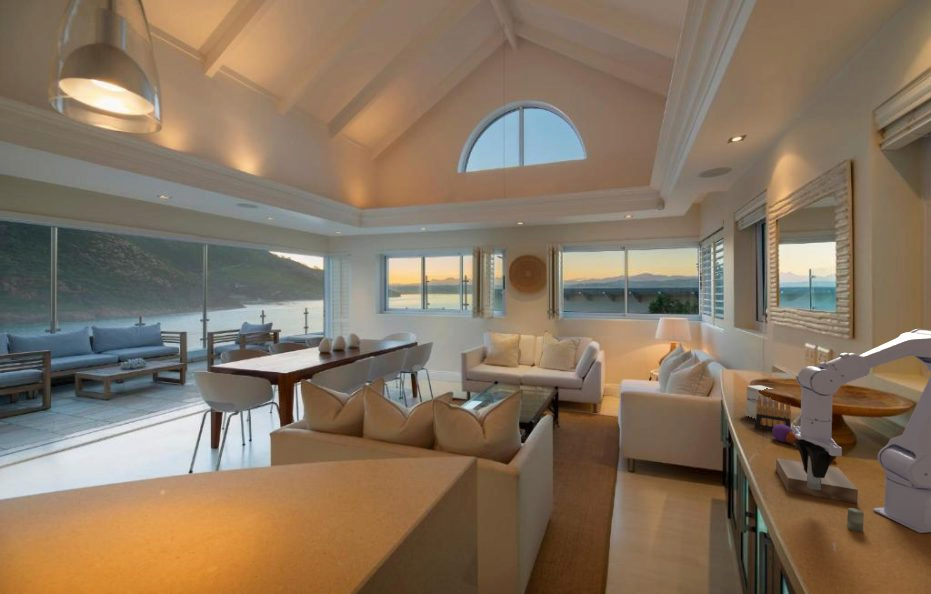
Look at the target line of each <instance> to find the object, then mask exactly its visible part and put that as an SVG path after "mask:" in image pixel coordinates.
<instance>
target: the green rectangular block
mask: <svg viewBox="0 0 931 594" xmlns="http://www.w3.org/2000/svg"><path fill="white" fill-rule="evenodd" d="M846 519H847V521H846V523H847V524H846V527H848V528H847V529H849V530H850V529H851V530H850V531H852V530H854V531H853V532H855V531H857V532H856V533H863V532H864V520H865V519H864V512H863V511H862V510H860V509H857V508H853V507H849V508H847V518H846Z"/></svg>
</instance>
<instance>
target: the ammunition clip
mask: <svg viewBox="0 0 931 594" xmlns="http://www.w3.org/2000/svg"><path fill="white" fill-rule="evenodd" d="M761 411H762V413H761ZM761 418H762V420H761ZM791 419H792V410H791V404H790V405H787V403H786V405H785V402H784V403H781V402H780V405H779V400H778V401H775V402H774V409H773V406H772V399H771V397H770V399H769V404H768V412H767V400H766V397H764V399H763V406H762V407H761V398H760V396H758V400H757V406H756V419H755V425H754V426H756V427H755V428H758V427H762V428H761V429H764V428H768V429H767V430H770V429H773V428H774V427H775V426H776V425H778V424H784V425H786V426H788V427H790V428H791ZM791 429H792V428H791Z"/></svg>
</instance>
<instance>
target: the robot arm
mask: <svg viewBox="0 0 931 594" xmlns="http://www.w3.org/2000/svg"><path fill="white" fill-rule="evenodd" d="M838 356H839V357H837V358H834V359H832V360H831V359H830V360H829V361H826V362H824V361H821V362H819V363H818V365H817V366H812V365H809V366H806V367H803V368H801V370H800V371H799V373H798V375H797V376H795V380H796V382H797V383H796V384H798V385H799V386H800V390H801V391H800V393H801V396H800V399H801V400H800V402H801V403H800V425H792V431H793V434H795V437H797V438H798V439H795V440H794V443H795V444H794V445H795V446H796V448H797V450H798V451H799V455H800V458H801V462H803V466H804V470H805V471H807V466H808V453H809V456H810V459H811V467H812V474H813V476H814V477H816V478H825V475H826V473H827V470H828V468H829V466H831V464H832V461H833V459H834V458H835V457H836V458H837V457H843V456H842V455H843V452H842V451H843V447H841V446H839V445H838V444H837V443H836V442H835V440H834V439H833V438H832V432H833V431H832V427H833V426H832V425H833V424H832V423H833V400H834V399H833V398H834V397H833V395H834V394H836V393H838V391H839V389H840V388H841V386H843V385H845V384H848V383H851V382H853V381H856V380H858V379H862V378H864V377H867V376H869V375H870V371H871V369H872V368H875V367H878V366H882V365H883V364H888V363H890V362H894V361H897V360H900V359H903V358H906V357H914V358H917V360H919V361H920V362H921V363H923V364H924V366H925V367H926V368H927V370H928V371H929V372H930V373H931V330H928V329H923V328H916V329H913V330H911V331H909V332H908V331H907V332H904V333H901V334H900V335H899V336H898V337H896V338H894V339H892V340H890V341H888V342H885V343H883V344H881V345H879V346H877V347H874V348H872V349H870V350H868V351H866V352H863V353H861V354H857V353H854V352H850V353H848V352H843V353H840V354H838ZM799 439H800V440H799ZM912 452H913V453H912ZM877 461H878V463H879V465H880V466H881V467H882V468H883V474H884V475H885V476H884V481H885V482H884V505H883V507H874V508H872V509H873V511H874V512H876V513H878V514H880V515H882V516H884V517H886V518H887V519H891V520H892V521H894V522H896V523H898V524H901V525H903V526H905V527H907V528H908V529H911V530H912V531H915V532H916V533H920V534H923V533H924V534H925V533H931V375H930V377H929V378H928V381H927V382H926V385H925V387H924V388H923V390H922V393H921V395H920V397H919V400H918V402H917V404H916V405H915V406H914V410H913V411H912V414H911V416H910V418H909V421H908V423H907V424H906V427H905V428H904V430H903V433H902V434H901V435H898V436H895V437H891V438H890V439H889V441H888V443H887V444H886V445H885V446H883V447H882V448H881V449H880V450H879V451H878V454H877Z"/></svg>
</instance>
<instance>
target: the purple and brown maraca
mask: <svg viewBox="0 0 931 594" xmlns="http://www.w3.org/2000/svg"><path fill="white" fill-rule="evenodd" d="M771 434H772V436H773V437H774V438H775V440H776V441H778V442H780V441H781V443H788V444H794V445H796V444H795V443H794V440H795V439H798V438H797V437H795V434H793V428H790V427H788V426H786V425H785V423H784V424H779V423H778V425H776V426H775V427H774V428H773V429H772V431H771ZM799 440H800V439H799ZM836 458H837V456H836V457H835V458H834V459H833V461H832V462H835V461H836V460H837V459H836ZM832 462H831V463H832Z"/></svg>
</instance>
